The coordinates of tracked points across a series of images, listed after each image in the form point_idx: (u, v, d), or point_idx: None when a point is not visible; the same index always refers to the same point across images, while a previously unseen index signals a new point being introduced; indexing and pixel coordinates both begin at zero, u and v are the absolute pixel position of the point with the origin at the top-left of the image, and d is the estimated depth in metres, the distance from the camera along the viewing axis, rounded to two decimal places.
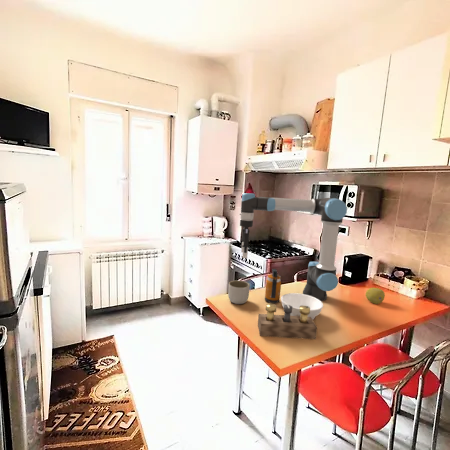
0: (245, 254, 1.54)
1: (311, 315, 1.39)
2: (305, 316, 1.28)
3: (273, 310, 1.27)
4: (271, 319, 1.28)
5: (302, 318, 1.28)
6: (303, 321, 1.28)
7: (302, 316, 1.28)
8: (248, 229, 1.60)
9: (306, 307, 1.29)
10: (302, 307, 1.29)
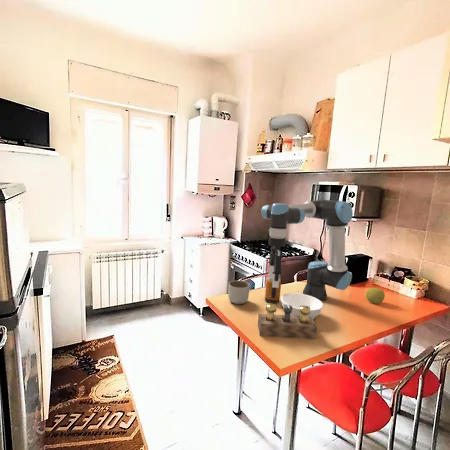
0: (276, 283, 1.21)
1: (311, 315, 1.39)
2: (305, 316, 1.28)
3: (273, 310, 1.27)
4: (271, 319, 1.28)
5: (302, 318, 1.28)
6: (303, 321, 1.28)
7: (302, 316, 1.28)
8: None
9: (306, 307, 1.29)
10: (302, 307, 1.29)
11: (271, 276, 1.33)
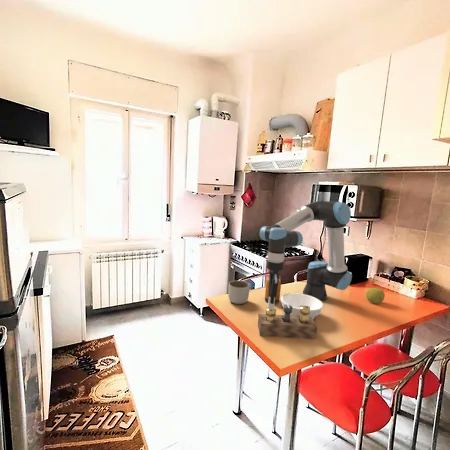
0: (271, 305, 1.28)
1: (311, 315, 1.39)
2: (305, 316, 1.28)
3: (273, 314, 1.27)
4: None
5: (302, 318, 1.28)
6: (303, 321, 1.28)
7: (302, 316, 1.28)
8: None
9: (306, 307, 1.29)
10: (302, 307, 1.29)
11: None
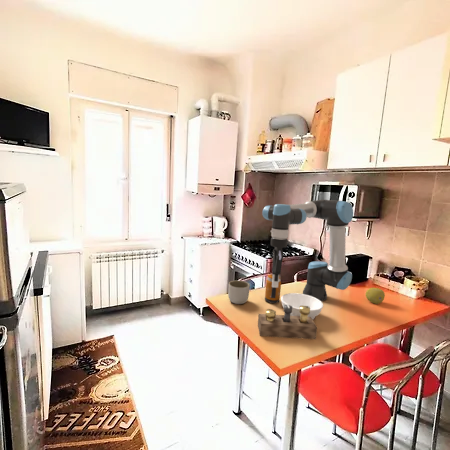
0: (276, 283, 1.27)
1: (311, 315, 1.39)
2: (305, 316, 1.28)
3: (272, 316, 1.27)
4: None
5: (302, 318, 1.28)
6: (303, 321, 1.28)
7: (302, 316, 1.28)
8: None
9: (306, 307, 1.29)
10: (302, 307, 1.29)
11: None
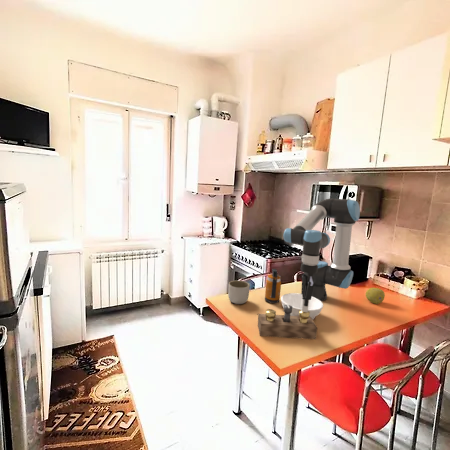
0: (305, 307, 1.28)
1: (311, 315, 1.39)
2: (305, 320, 1.28)
3: (272, 316, 1.27)
4: None
5: (302, 322, 1.28)
6: None
7: (302, 320, 1.28)
8: None
9: None
10: None
11: None
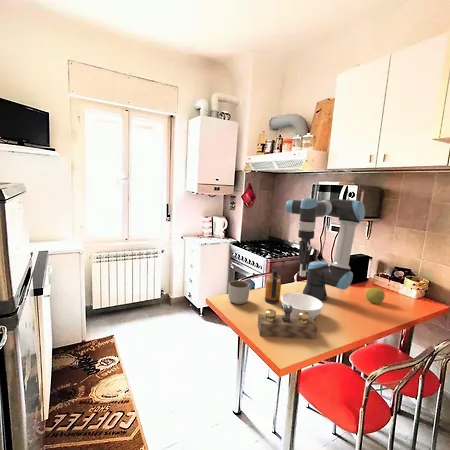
0: (303, 272, 1.35)
1: (311, 315, 1.39)
2: (304, 322, 1.28)
3: (272, 316, 1.27)
4: None
5: None
6: None
7: (301, 322, 1.29)
8: None
9: (305, 313, 1.29)
10: (301, 313, 1.29)
11: None
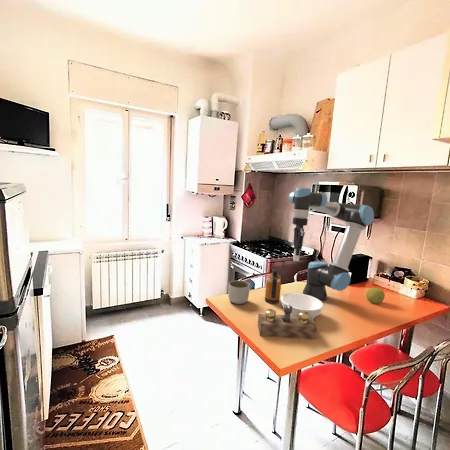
0: (297, 257, 1.45)
1: (311, 315, 1.39)
2: (304, 322, 1.28)
3: (272, 316, 1.27)
4: None
5: None
6: None
7: (301, 322, 1.29)
8: None
9: (305, 313, 1.29)
10: (301, 313, 1.29)
11: None
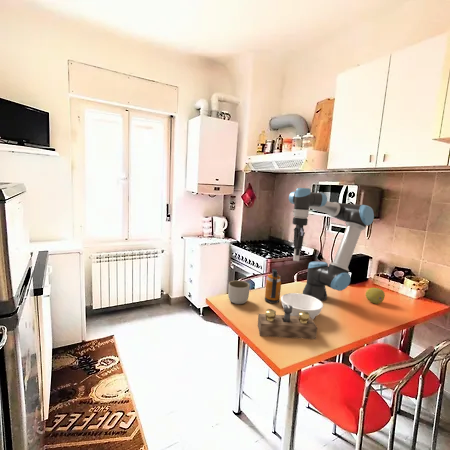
0: (297, 257, 1.45)
1: (311, 315, 1.39)
2: (304, 322, 1.28)
3: (272, 316, 1.27)
4: None
5: None
6: None
7: (301, 322, 1.29)
8: None
9: (305, 313, 1.29)
10: (301, 313, 1.29)
11: None
